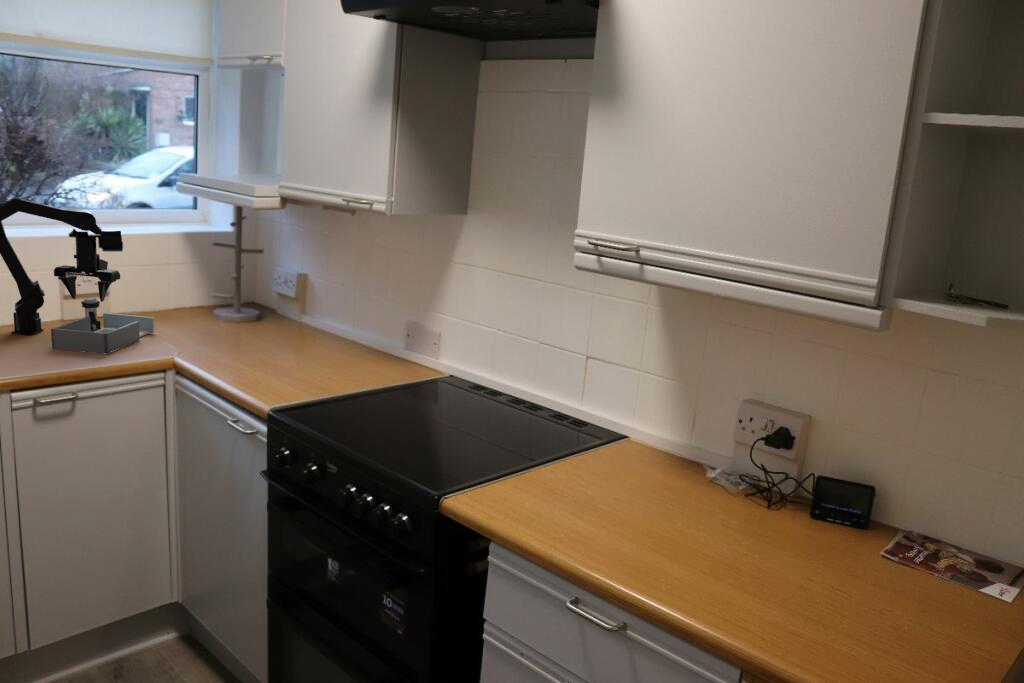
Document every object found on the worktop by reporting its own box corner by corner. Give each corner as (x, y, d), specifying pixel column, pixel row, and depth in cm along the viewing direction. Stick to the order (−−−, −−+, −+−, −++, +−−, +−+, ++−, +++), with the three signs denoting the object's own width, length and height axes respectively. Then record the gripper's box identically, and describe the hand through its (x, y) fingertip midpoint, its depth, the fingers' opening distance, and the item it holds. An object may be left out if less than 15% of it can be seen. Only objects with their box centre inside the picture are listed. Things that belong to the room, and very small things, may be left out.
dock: (88, 334, 254) (87, 316, 252) (139, 339, 253) (139, 321, 251) (52, 348, 236) (51, 328, 235) (107, 354, 235) (106, 334, 234)
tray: (105, 327, 262) (104, 312, 261) (154, 332, 262) (153, 317, 260) (71, 340, 245) (70, 324, 244) (123, 345, 244) (123, 329, 243)
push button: (86, 333, 256) (84, 302, 253) (74, 330, 258) (73, 299, 256) (104, 329, 262) (103, 299, 259) (93, 326, 264) (92, 296, 261)
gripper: (128, 251, 261) (130, 298, 265) (73, 245, 262) (75, 293, 266) (109, 255, 250) (111, 304, 254) (51, 249, 251) (53, 299, 255)
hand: (88, 300), depth 257 cm, fingers open, 9 cm apart
